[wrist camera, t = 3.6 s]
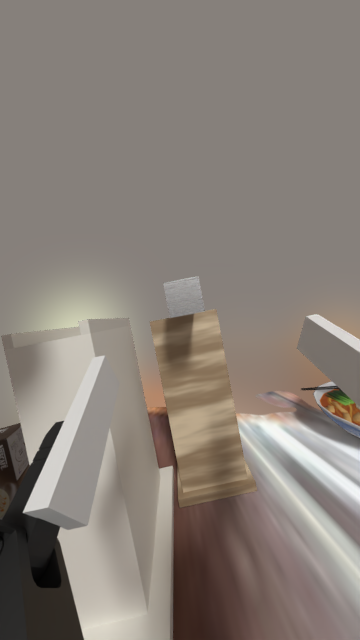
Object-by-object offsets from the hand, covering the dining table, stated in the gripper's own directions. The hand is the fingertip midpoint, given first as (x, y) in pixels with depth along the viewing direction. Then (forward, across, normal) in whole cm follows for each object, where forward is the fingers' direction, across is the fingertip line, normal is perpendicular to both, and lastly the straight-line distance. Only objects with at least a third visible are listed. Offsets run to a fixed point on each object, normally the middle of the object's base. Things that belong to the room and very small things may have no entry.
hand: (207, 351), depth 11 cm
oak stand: (+6, 0, -39) cm, 39 cm away
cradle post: (-3, -15, -34) cm, 37 cm away
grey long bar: (+20, 0, -9) cm, 22 cm away
